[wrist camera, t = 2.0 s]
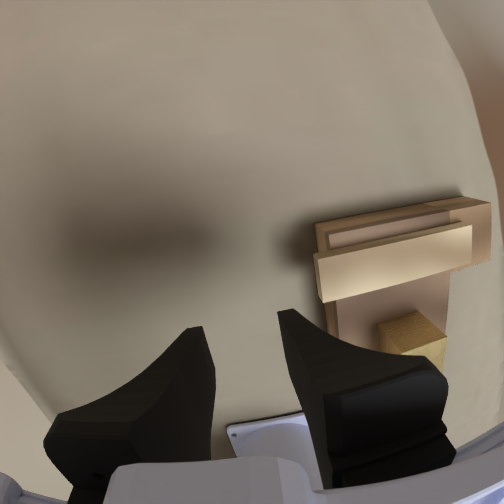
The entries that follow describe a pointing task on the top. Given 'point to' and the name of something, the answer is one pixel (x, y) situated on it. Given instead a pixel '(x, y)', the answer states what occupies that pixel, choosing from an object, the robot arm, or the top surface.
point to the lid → (395, 297)
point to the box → (458, 207)
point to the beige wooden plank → (391, 261)
